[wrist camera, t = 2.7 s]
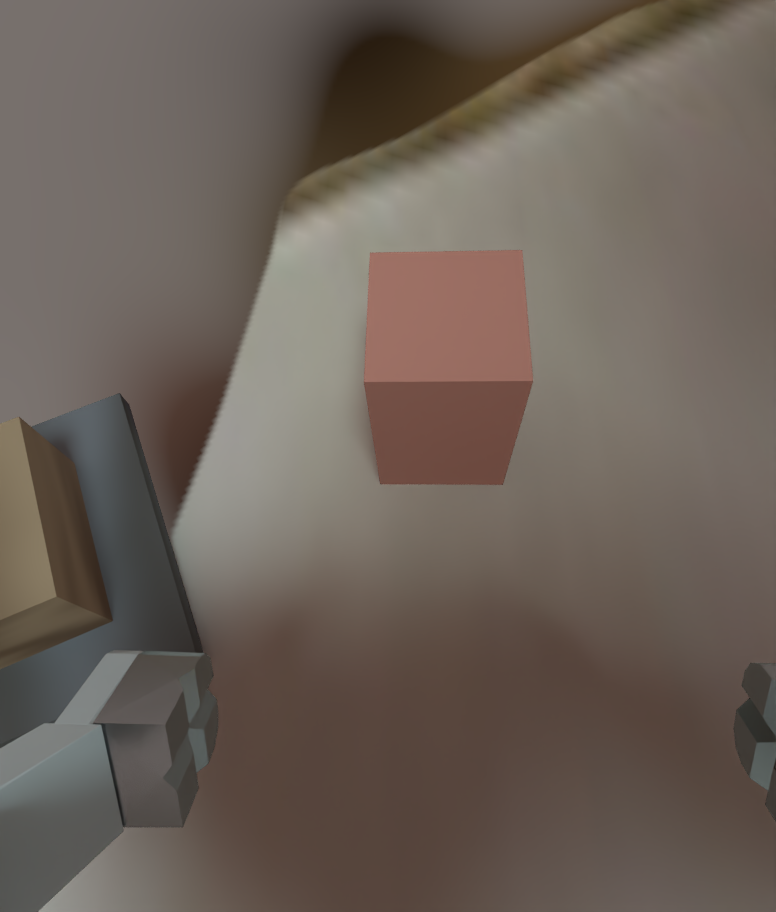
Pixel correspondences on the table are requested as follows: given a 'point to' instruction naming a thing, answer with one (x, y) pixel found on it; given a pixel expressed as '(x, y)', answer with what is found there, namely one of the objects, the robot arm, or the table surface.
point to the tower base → (122, 562)
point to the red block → (446, 364)
